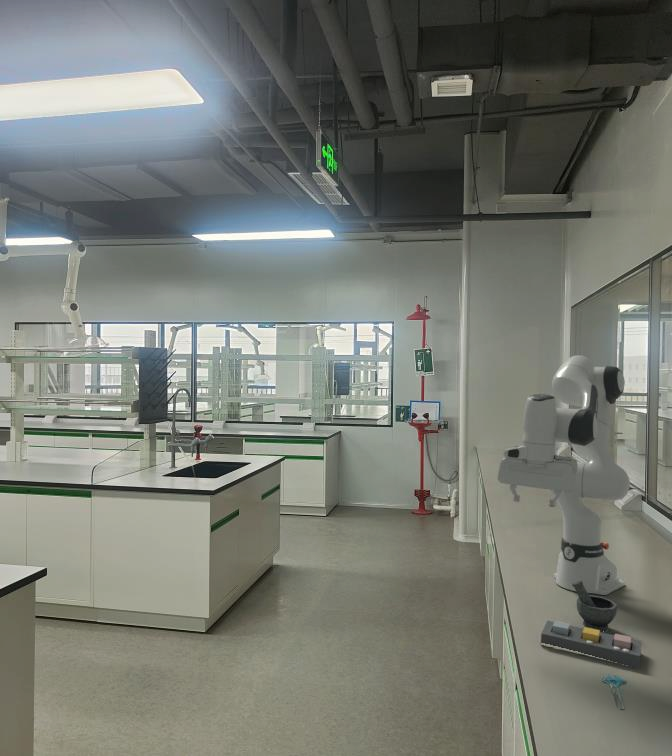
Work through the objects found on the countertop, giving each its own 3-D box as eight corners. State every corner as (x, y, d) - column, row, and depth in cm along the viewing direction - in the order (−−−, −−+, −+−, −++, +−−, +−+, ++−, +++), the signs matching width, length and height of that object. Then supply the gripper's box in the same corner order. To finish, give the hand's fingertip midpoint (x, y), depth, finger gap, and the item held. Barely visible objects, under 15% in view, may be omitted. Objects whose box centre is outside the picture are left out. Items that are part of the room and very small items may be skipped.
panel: (540, 645, 156) (541, 632, 155) (546, 631, 164) (547, 619, 163) (639, 668, 145) (640, 655, 145) (640, 653, 153) (641, 640, 153)
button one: (582, 641, 154) (582, 632, 153) (583, 635, 157) (584, 626, 157) (598, 644, 152) (598, 635, 152) (599, 639, 155) (599, 630, 155)
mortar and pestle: (614, 624, 170) (617, 580, 169) (616, 638, 161) (619, 592, 161) (570, 616, 174) (572, 573, 174) (569, 630, 165) (572, 584, 165)
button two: (613, 648, 150) (613, 639, 150) (614, 642, 153) (614, 633, 153) (629, 651, 149) (630, 642, 149) (630, 646, 152) (631, 637, 152)
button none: (552, 634, 157) (552, 625, 157) (554, 629, 160) (554, 620, 160) (567, 637, 155) (567, 628, 155) (569, 632, 158) (569, 623, 158)
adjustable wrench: (600, 672, 142) (625, 676, 140) (600, 676, 142) (624, 680, 140) (608, 704, 128) (634, 709, 127) (607, 709, 128) (634, 714, 127)
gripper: (579, 457, 171) (575, 508, 170) (502, 448, 179) (499, 497, 179) (577, 458, 165) (573, 511, 165) (498, 450, 174) (494, 500, 174)
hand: (534, 504), depth 172 cm, fingers open, 8 cm apart
